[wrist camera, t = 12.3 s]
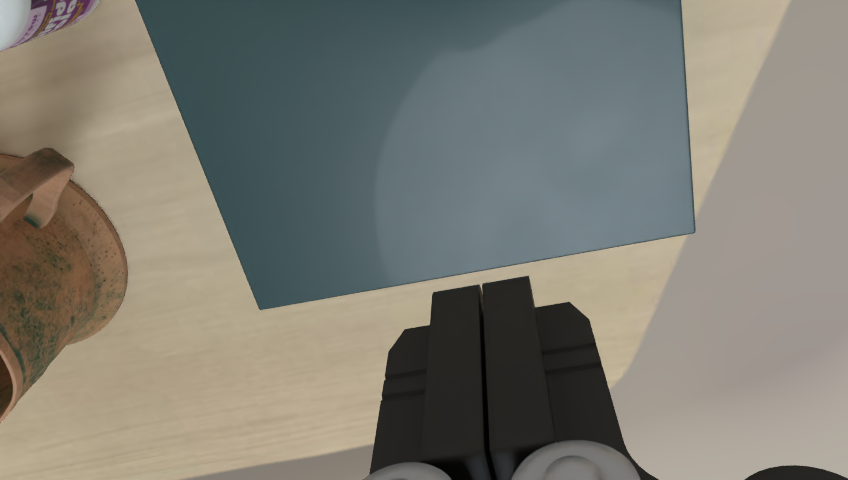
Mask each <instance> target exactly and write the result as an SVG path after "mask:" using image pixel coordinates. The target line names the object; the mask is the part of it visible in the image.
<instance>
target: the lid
mask: <svg viewBox="0 0 848 480" xmlns="http://www.w3.org/2000/svg"><path fill="white" fill-rule="evenodd" d="M135 1H136V3H137V6H138V8H139V11H140V13H141V16H142V18H143V21H144V23H145V26H146V28H147V31H148V33H149V36H150V38H151V41H152V43H153V46H154V48H155V51H156V53H157V56H158V58H159V61H160V63H161V66H162V68H163V71H164V73H165V76H166V78H167V81H168V83H169V86H170V88H171V91H172V93H173V96H174V98H175V101H176V103H177V106H178V108H179V111H180V113H181V116H182V118H183V121H184V123H185V126H186V128H187V131H188V133H189V136H190V138H191V141H192V143H193V145H194V148H195V150H196V153H197V155H198V158H199V160H200V163H201V165H202V168H203V170H204V173H205V175H206V178H207V180H208V183H209V185H210V188H211V190H212V193H213V195H214V198H215V200H216V203H217V205H218V208H219V210H220V213H221V215H222V218H223V220H224V223H225V225H226V228H227V230H228V233H229V235H230V238H231V240H232V243H233V245H234V248H235V250H236V253H237V255H238V258H239V260H240V263H241V265H242V268H243V270H244V273H245V275H246V278H247V280H248V283H249V285H250V287H251V290H252V292H253V295H254V297H255V300H256V302H257V305H258V307H259V309H260V310H263V309H269V308H275V307H280V306H286V305H291V304H297V303H303V302H308V301H314V300H320V299H325V298H331V297H337V296H342V295H348V294H354V293H359V292H365V291H370V290H376V289H382V288H387V287H393V286H399V285H404V284H410V283H416V282H421V281H427V280H432V279H438V278H444V277H449V276H455V275H461V274H466V273H472V272H478V271H483V270H489V269H494V268H500V267H506V266H511V265H517V264H523V263H528V262H534V261H540V260H545V259H551V258H556V257H562V256H568V255H573V254H579V253H585V252H590V251H596V250H602V249H607V248H613V247H619V246H624V245H630V244H635V243H641V242H647V241H652V240H658V239H664V238H669V237H675V236H681V235H686V234H692V233H695V215H694V199H693V183H692V167H691V151H690V135H689V119H688V103H687V87H686V71H685V55H684V39H683V23H682V7H681V0H135Z"/></svg>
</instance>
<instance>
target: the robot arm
mask: <svg viewBox="0 0 848 480" xmlns="http://www.w3.org/2000/svg"><path fill="white" fill-rule="evenodd" d="M482 290H483V294H482V291H481V288H480V285H473V286H467V287H462V288H456V289H450V290H444V291H438V292H434V293H433V295H432V306H431V320H430V325H428V326H422V327H416V328H410V329H405V330H404V331H403V333H402V334H401V335H400V337H399V338H398V340H397V341H396V342H395V344H394V345H393V347H392V348H391V349H390V351H389V353H388V359H387V366H386V372H385V378H386V380H384V385H383V391H382V401H381V404H380V411H379V417H378V423H377V430H376V436H375V443H374V449H373V455H372V462H371V468H370V475H369V476H367V477H366V478H365V479H363V480H658V479H656V478H655V477H653V476H652V475H650V474H648V473H647V472H646V471H645V470H643V469H642V468H641V467H639V465H638V464H637V463H636V462H635V461H634V460H633V459H632V457H631V456H630V454H629V453H628V451H627V449H626V446H625V444H624V441H623V438H622V434H621V431H620V427H619V424H618V420H617V416H616V413H615V410H614V406H613V402H612V399H611V395H610V392H609V388H608V385H607V381H606V377H605V374H604V370H603V367H602V364H601V360H600V356H599V353H598V349H597V347H596V342H595V339H594V335H593V332H592V328H591V324H590V321H589V319H588V318H587V317H586V316H585V315H584V314H582V313H581V312H580V311H579V310H578V309H577V308H576V307H574V306H573V305H572V304H571V303H570V302H566V303H560V304H554V305H548V306H542V307H536V308H535V305H534V300H533V294H532V289H531V284H530V279H529V276H525V277H519V278H513V279H507V280H501V281H495V282H490V283H484V284H483V285H482ZM745 480H848V479H847V478H845V477H843V476H841V475H838V474H836V473H833V472H830V471H826V470H823V469H818V468H813V467H807V466H779V467H773V468H768V469H765V470H762V471H759V472H757V473H755V474H753V475H751V476H749V477H748V478H746V479H745Z"/></svg>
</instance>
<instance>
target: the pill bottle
mask: <svg viewBox="0 0 848 480" xmlns="http://www.w3.org/2000/svg"><path fill="white" fill-rule="evenodd" d="M99 2H100V0H0V52H1V51H3V50H6V49H9V48H12V47H15V46H17V45H20V44H22V43H25V42H28V41H31V40H33V39H36V38H38V37H41V36H43V35H46V34H49V33H52V32H54V31H56V30H59V29H62V28H65V27H68V26H70V25H73V24H75V23H77V22H79V21H81V20H83V19H84V18H86V17H87V16H88V15H89V14H91V13H92V12H93V11H94V10H95V8H96V7H97V5H98V3H99Z"/></svg>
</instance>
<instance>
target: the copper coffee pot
mask: <svg viewBox="0 0 848 480" xmlns="http://www.w3.org/2000/svg"><path fill="white" fill-rule="evenodd" d="M73 172H74V164H73V163H72V162H70V161H69V160H68V159H66V158H65V157H64V156H62V155H61V154H60V153H58V152H57V151H56V150H54V149H53V148H44V149H41V150H38V151H36V152H34V153H32V154H30V155H28V156H27V157H25V158H18V157H14V156H9V155H2V154H0V423H1V422H2V421H3V420H4V419H5V417H6V416H7V415H8V414H9V413H10V412H11V410H12V409H13V408H14V407H15V405H16V404H17V402H18V401H19V400H20V398H21V397H22V396H23V395H24V394H25V393H26V392H27V391H28V389H29V388H30V387H31V386H32V385H33V384H34V383H35V382H36V381H37V380H38V379H39V378H40V377H41V376H42V375H43V373H44V372H45V370H46V369H47V367H48V366H49V364H50V363H51V362H52V361H53V360H54V359H55V358H56V356H57V355H58V354H59V353H60V352H61V350H62V349H63V348H64V347H65V346H66V345H69V344H73V343H76V342H79V341H82V340H84V339H86V338H89V337H90V336H92V335H94V334H96V333H97V332H98V331H100V330H101V329H102V328H103V327H105V326H106V325H107V324H108V322H109V321H110V320H111V319H112V318H113V316H114V315H115V313H116V312H117V310H118V309H119V307H120V305H121V303H122V301H123V298H124V296H125V292H126V287H127V276H128V274H127V262H126V257H125V253H124V250H123V247H122V244H121V241H120V239H119V237H118V235H117V233H116V231H115V229H114V227H113V225H112V224H111V222H110V221H109V219H108V218H107V216H106V215H105V214H104V212H103V211H102V210H101V208H100V207H99V206H98V205H97V204H96V203H95V202H94V201H93V200H92V199H91V198H90V197H89V196H88V195H87V194H86V193H85V192H84V191H83V190H81V189H80V188H79V187H78V186H76V185H75V184H74V183H72V182H71V181H70V180H69V179H70V178H71V176H72V174H73Z"/></svg>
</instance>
